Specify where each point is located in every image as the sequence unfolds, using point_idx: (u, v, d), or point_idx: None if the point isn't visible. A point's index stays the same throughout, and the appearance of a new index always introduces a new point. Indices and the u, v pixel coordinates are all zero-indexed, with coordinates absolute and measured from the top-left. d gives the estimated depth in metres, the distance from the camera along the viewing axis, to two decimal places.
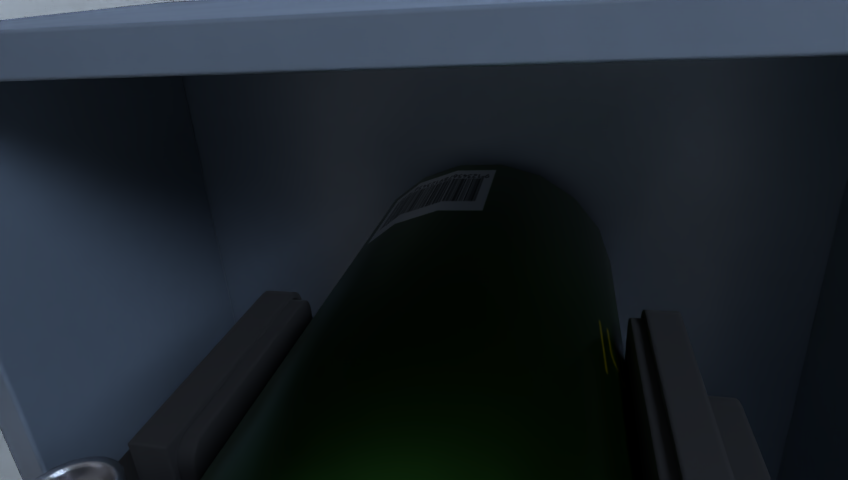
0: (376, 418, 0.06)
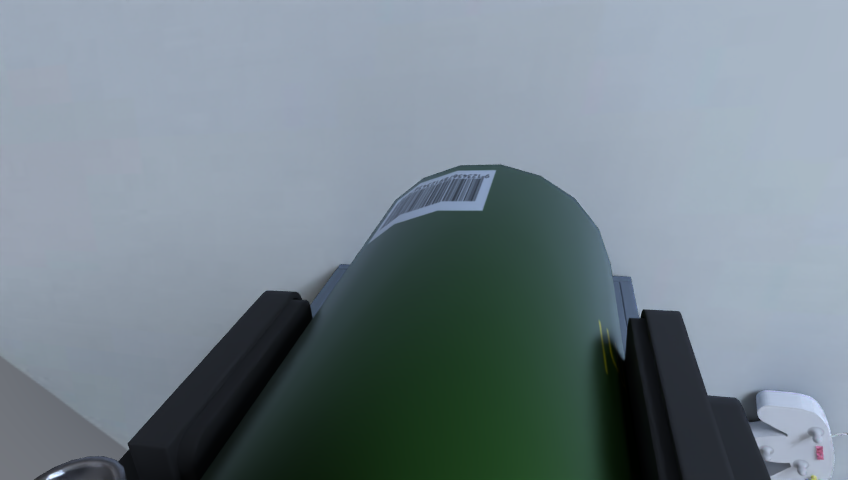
0: (375, 418, 0.06)
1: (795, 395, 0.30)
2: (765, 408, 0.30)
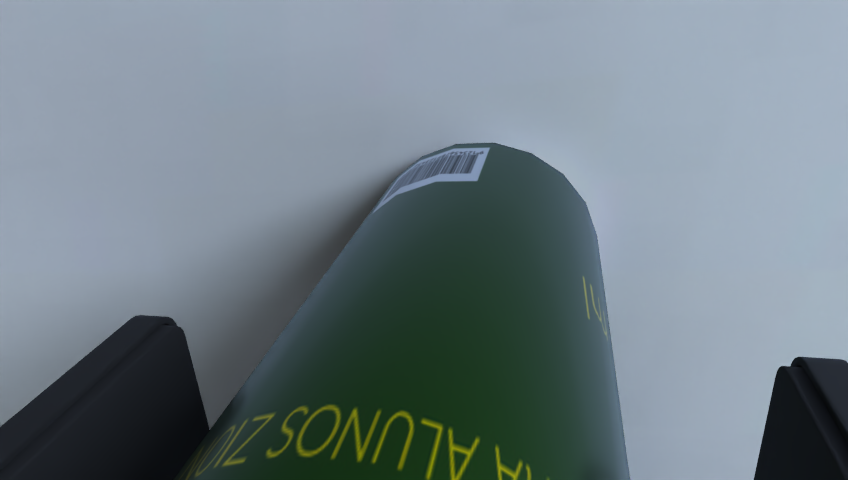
0: (386, 339, 0.07)
1: None
2: None
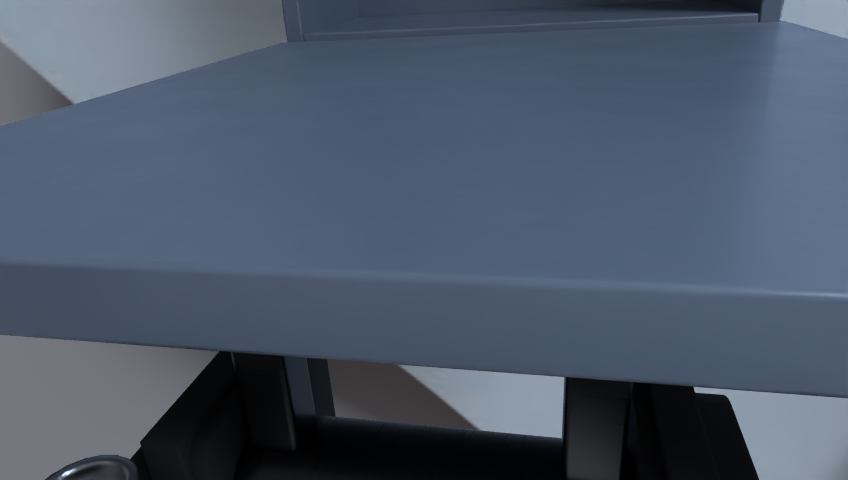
0: None
1: None
2: None
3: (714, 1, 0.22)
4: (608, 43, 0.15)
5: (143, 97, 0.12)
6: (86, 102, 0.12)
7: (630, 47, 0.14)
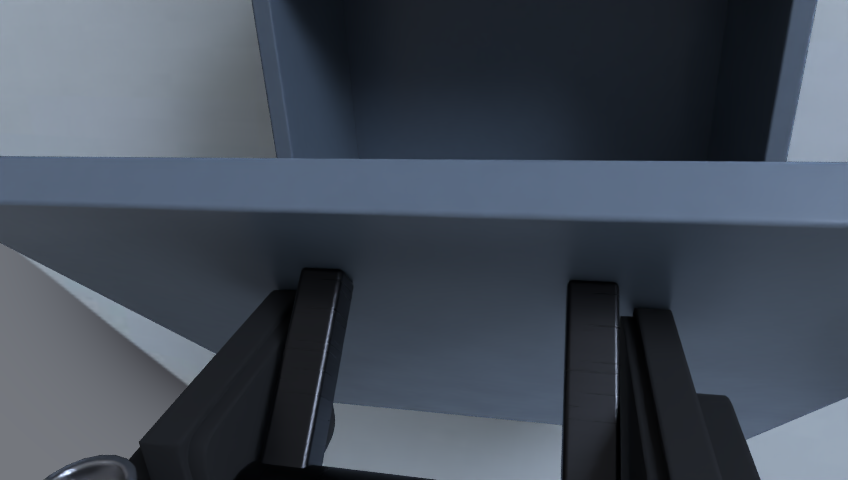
0: None
1: None
2: None
3: None
4: None
5: None
6: None
7: None
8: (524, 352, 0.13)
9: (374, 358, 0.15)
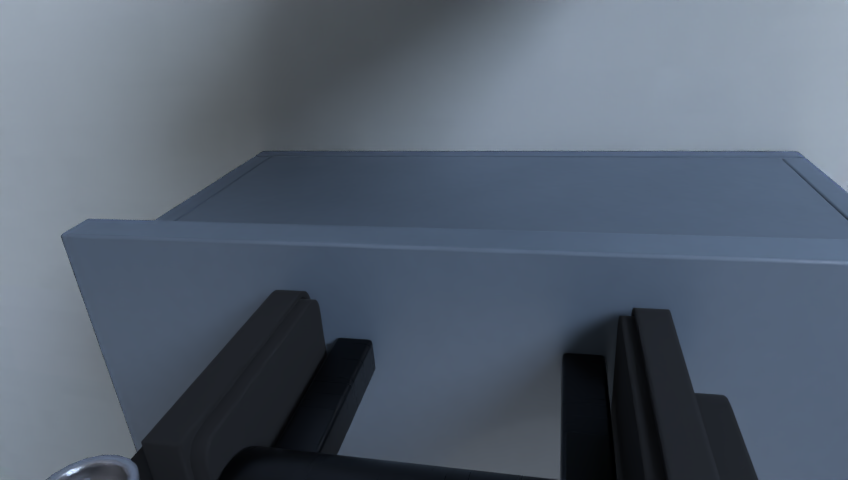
0: None
1: None
2: None
3: None
4: None
5: None
6: None
7: None
8: None
9: None
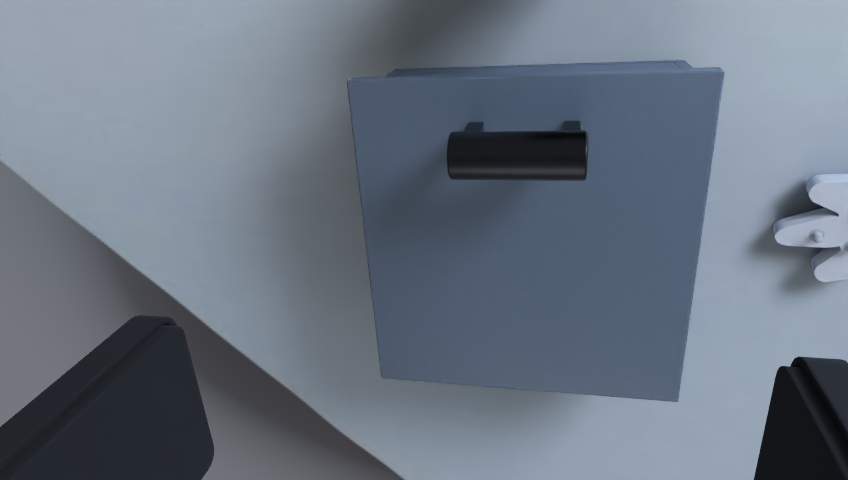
0: None
1: (846, 175, 0.31)
2: (817, 187, 0.31)
3: None
4: None
5: None
6: None
7: None
8: (543, 218, 0.27)
9: (464, 247, 0.29)
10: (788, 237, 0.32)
